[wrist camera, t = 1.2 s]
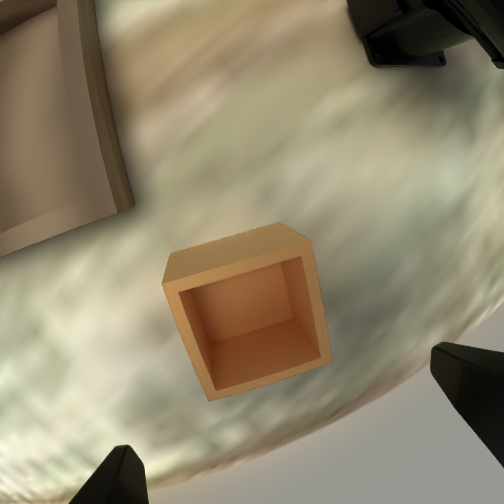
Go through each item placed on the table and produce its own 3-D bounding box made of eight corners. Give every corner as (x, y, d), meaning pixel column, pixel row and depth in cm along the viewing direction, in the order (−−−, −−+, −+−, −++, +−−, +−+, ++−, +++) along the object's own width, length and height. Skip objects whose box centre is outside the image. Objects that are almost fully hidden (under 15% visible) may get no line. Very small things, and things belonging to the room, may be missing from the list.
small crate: (278, 221, 18) (310, 240, 13) (300, 319, 19) (332, 361, 14) (170, 253, 17) (161, 284, 12) (203, 348, 18) (208, 401, 14)
